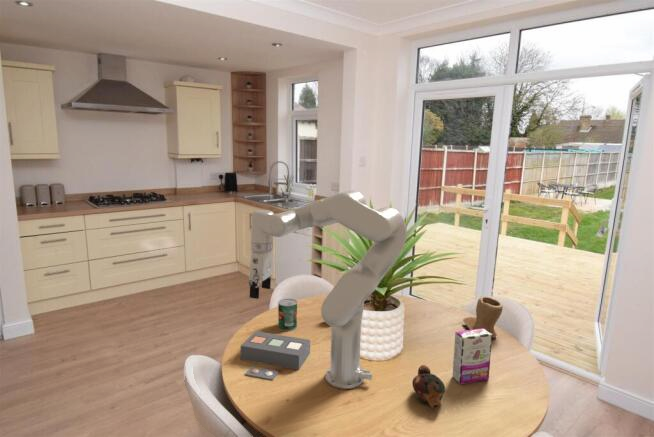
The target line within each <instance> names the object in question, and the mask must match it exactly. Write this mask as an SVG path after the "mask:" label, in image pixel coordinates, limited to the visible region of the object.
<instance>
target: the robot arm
mask: <svg viewBox="0 0 654 437" xmlns="http://www.w3.org/2000/svg"><path fill="white" fill-rule="evenodd" d="M337 223H339V225H341V226H343V227H344V228H346V229H348V230H350V231H352V232H353V233H356V234H357V235H359V236H360V237H362V238H364V239H367V240H369V241H370V242H373V244H371V246H370V247H369V249H367V252H366V253H365V254H364V255H363V257H362V258H361V259H360V260H359V262H357V263H356V264H355V265H353V266H352V267H351V268H350V269H348V270H347V271H346V272H345V273H344V274H343V275H342V276H341V277H340V278H339V280H338V281H337V283H336V284H335V285H334V286H333V288H332V290H331V291H330V292H329V293H328V294H327V296H326V297H325V299H324V301H323V302H322V304H321V308H320V309H321V310H320V311H321V312H320V313H321V317H322V319H323V321H324V322H325V323H326V325H328V326H330V327H331V332H330V335H331V336H330V363H329V364H330V365H329V366H330V368H328V369H327V370H326V372H325V380H326V382H327V383H328V384H329V385H331V386H333V387H334V388H338V389H343V390H347V389H349V390H350V389H355V388H357V387H359V386H360V385H362V384H363V382H364V381H365V380H368V381H372V380H373V373H371V370H370V369H364V368H362V365H363V364H362V363H361V362H360V361H361V360H360V359H361V337H362V336H361V335H362V334H361V333H362V321H363V312H364V305H365V301H367V299H368V298H369V297H370V295H371V294H372V293H374V292H375V291H376V289H377V288H378V286H379V284H380V283H381V281H382V280H383V278H384V277H385V276H386V275H387V274H388V272H389V271H390V269H391V268H392V266H393V265H394V264H395V262H396V261H397V260H398V258H399V256H400V255H401V253H402V252H403V250H404V247H405V245H406V242H407V236H408V232H407V228H408V227H407V224H406V221H405V218H404V216H403V215H402V214H401V213H400V212H399V211H398V210H397V209H396V208H393V207H387V206H386V207H381V208H379V209H377V210H375V209H373V208H371V207H370V206H368V205H367V201H366V198H365V196H364V195H363V194H362V193H361V192H359V191H357V190H347V191H344V192H339V193H337V194H334V195H330V196H327V197H323V198H321V199H318V200H314V201H312V202H311V203H310V204H307V205H304V206H300V207H298V208H294V209H291V210H287V211H283V212H279V213H275V214H274V212H273V211H271V210H268V209H257V210H254V211H252V213H251V228H250V229H251V231H250V233H251V234H250V251H251V255H250V265H249V277H248V285H249V298H251V299H256V300H259V298H260V287H259V286H260V282H261V288H262V289H267V290H270V289H271V284H272V283H271V282H272V275H273V274H274V252H273V250H274V237H275V238H282V237H284V236H288V235H289V234H292V233H294V232H299V231H301V230H304V229H309V228H312V227H319V228H322V227H327V226H330V225H333V224H337Z"/></svg>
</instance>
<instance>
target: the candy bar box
mask: <svg viewBox="0 0 654 437" xmlns="http://www.w3.org/2000/svg"><path fill="white" fill-rule="evenodd" d="M492 341H493V338H492V334H491V333H490V332H488V331H487V330H486V329H484V328H482V329H475V330H470V329H469V330H467V329H466V330H461V331H455V332H454V346H453V347H454V349H453V364H452V378H453V379H454V380H455V381H457V383H458V384H459V385H464V384H470V383H476V382H482V381H487V380H489V379H490V366H491V354H492V343H493V342H492Z"/></svg>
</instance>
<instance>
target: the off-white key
mask: <svg viewBox="0 0 654 437" xmlns="http://www.w3.org/2000/svg"><path fill="white" fill-rule="evenodd" d="M301 346H302V344H300V343H294V342H290V343H289V345H288V346H287V347H286V348H288V349H294V350H299V349H300V348H301Z"/></svg>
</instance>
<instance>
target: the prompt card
mask: <svg viewBox="0 0 654 437" xmlns="http://www.w3.org/2000/svg"><path fill="white" fill-rule="evenodd" d="M279 373H280V372H279V370H275V369H274V370H273V369H268V368H263V367H257V366H250V367H249V369H248V370H247V371H246V372H245V373H244V376H247V377H253V378H259V379H263V380H268V381H273V380H274V379H275V378H276V376H278V374H279Z"/></svg>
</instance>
